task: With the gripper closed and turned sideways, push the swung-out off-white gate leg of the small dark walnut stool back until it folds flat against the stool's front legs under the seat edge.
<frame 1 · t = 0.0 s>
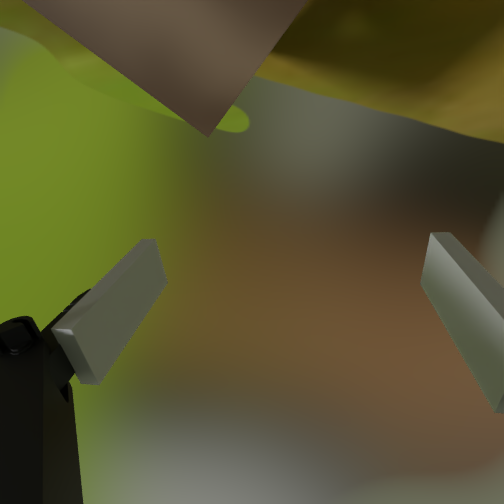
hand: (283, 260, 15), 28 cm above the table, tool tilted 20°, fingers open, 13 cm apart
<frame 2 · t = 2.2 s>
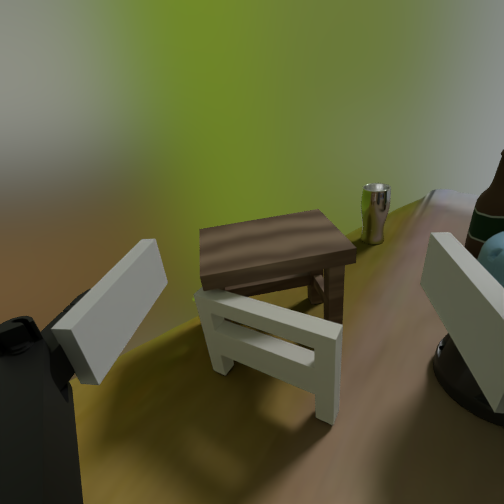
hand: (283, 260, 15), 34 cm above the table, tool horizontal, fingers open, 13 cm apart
beer glass: (371, 240, 84), on the table
gate leg: (265, 351, 43), point 8 cm above the table, hinge at 40.0°
beer bottle: (482, 253, 72), on the table
stool: (275, 323, 59), on the table
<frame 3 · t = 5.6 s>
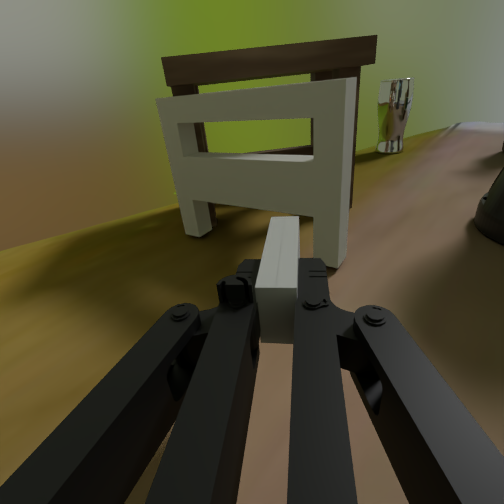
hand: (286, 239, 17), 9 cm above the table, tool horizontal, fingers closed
beer glass: (388, 152, 72), on the table
gate leg: (248, 176, 32), point 9 cm above the table, hinge at 40.0°
stool: (269, 204, 48), on the table
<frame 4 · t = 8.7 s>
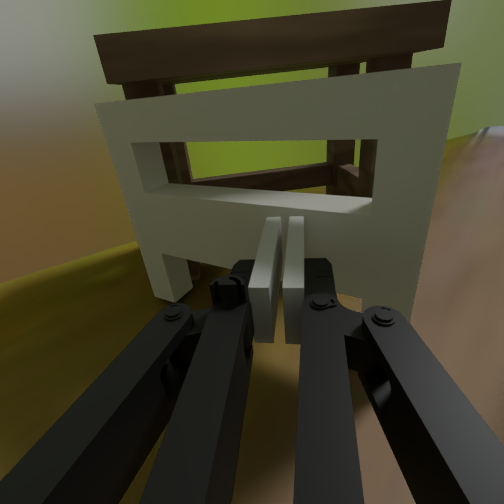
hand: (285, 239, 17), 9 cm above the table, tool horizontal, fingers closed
gate leg: (248, 224, 20), point 9 cm above the table, hinge at 35.8°, touching gripper
stool: (272, 241, 36), on the table
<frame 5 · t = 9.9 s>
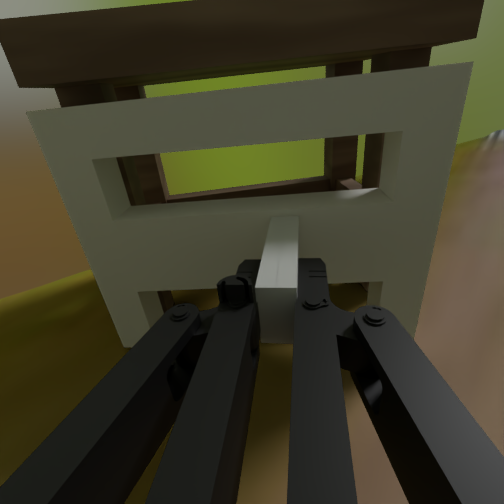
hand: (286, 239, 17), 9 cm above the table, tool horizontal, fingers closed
gate leg: (251, 235, 19), point 9 cm above the table, hinge at 10.0°, touching gripper
stool: (260, 269, 31), on the table
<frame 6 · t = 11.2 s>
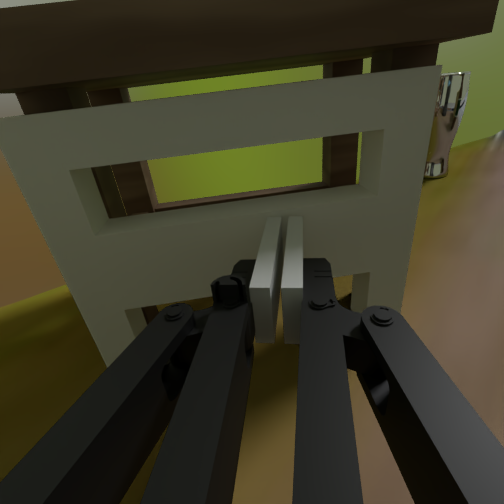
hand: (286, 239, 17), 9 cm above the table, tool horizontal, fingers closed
beer glass: (427, 175, 53), on the table
gate leg: (242, 238, 18), point 9 cm above the table, hinge at -0.7°, touching gripper
stool: (254, 281, 29), on the table
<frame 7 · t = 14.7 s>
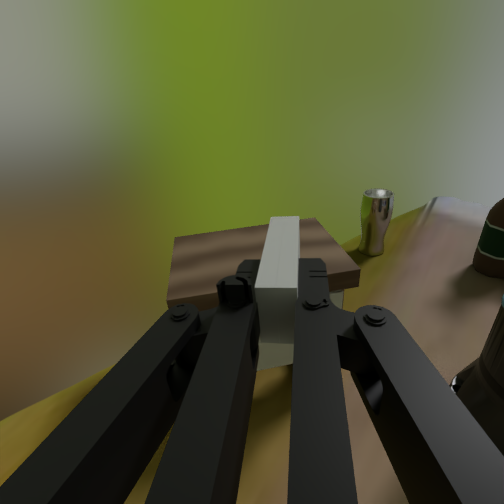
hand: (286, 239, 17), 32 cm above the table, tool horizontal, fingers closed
beer glass: (370, 250, 77), on the table
gate leg: (263, 346, 41), point 8 cm above the table, hinge at -0.7°
beer bottle: (492, 269, 66), on the table
stool: (261, 347, 52), on the table
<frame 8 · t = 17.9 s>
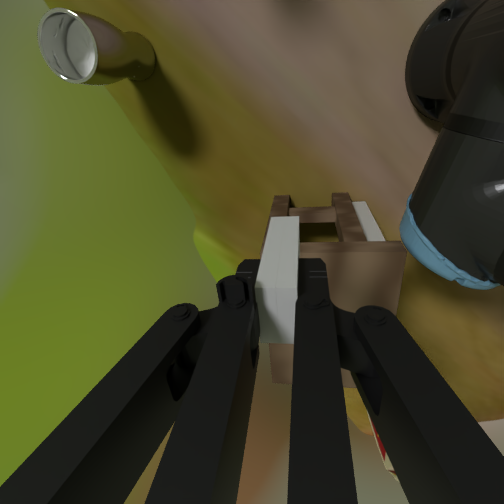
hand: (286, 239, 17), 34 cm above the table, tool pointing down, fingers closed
beer glass: (136, 57, 45), on the table
milk carton: (388, 397, 72), on the table
gate leg: (361, 281, 47), point 8 cm above the table, hinge at -0.7°
stool: (310, 251, 56), on the table
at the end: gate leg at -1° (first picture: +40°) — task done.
